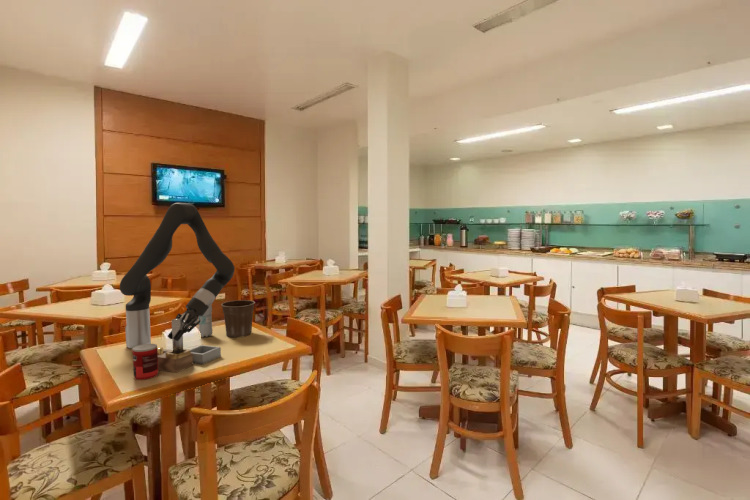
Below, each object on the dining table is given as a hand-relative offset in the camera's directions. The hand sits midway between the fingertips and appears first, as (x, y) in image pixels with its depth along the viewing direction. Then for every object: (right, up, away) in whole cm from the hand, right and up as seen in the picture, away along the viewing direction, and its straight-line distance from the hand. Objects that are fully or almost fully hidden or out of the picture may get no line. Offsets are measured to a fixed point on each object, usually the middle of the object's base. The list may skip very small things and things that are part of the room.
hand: (172, 338), depth 147 cm
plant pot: (+9, -9, +49) cm, 50 cm away
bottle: (-7, -10, +46) cm, 47 cm away
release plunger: (-8, -11, +6) cm, 15 cm away
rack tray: (+6, -11, +12) cm, 18 cm away
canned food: (-7, -13, -5) cm, 15 cm away
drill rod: (+1, -7, +2) cm, 7 cm away
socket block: (-3, -12, +4) cm, 13 cm away
